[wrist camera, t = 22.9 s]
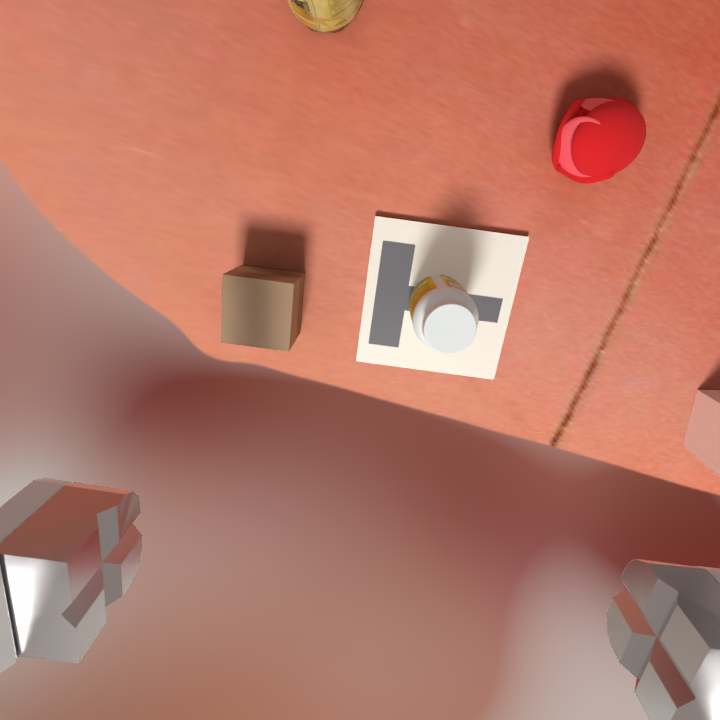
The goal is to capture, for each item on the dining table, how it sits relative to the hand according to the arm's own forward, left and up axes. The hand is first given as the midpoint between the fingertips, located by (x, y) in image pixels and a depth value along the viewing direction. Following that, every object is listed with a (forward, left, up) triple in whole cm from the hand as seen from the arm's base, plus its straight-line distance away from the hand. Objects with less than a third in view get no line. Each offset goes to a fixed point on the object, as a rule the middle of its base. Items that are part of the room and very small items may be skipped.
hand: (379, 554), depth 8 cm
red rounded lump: (-16, -12, -37) cm, 42 cm away
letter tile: (-6, +3, -37) cm, 38 cm away
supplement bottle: (-6, +3, -37) cm, 37 cm away
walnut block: (+10, +5, -37) cm, 39 cm away
